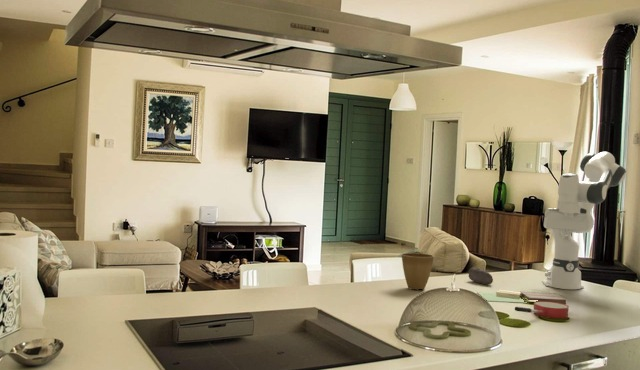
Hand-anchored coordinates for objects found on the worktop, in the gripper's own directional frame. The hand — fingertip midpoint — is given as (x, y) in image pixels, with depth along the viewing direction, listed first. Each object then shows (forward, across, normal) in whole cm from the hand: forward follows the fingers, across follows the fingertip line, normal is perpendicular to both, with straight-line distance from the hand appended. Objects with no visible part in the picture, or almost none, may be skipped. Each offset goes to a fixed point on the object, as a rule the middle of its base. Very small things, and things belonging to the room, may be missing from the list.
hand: (565, 239), depth 283 cm
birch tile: (+27, -25, 0) cm, 37 cm away
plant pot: (+27, -65, +11) cm, 72 cm away
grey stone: (+27, -27, +32) cm, 50 cm away
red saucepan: (+28, -28, -40) cm, 56 cm away
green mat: (+27, -29, -3) cm, 40 cm away
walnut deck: (+27, -11, -5) cm, 30 cm away
